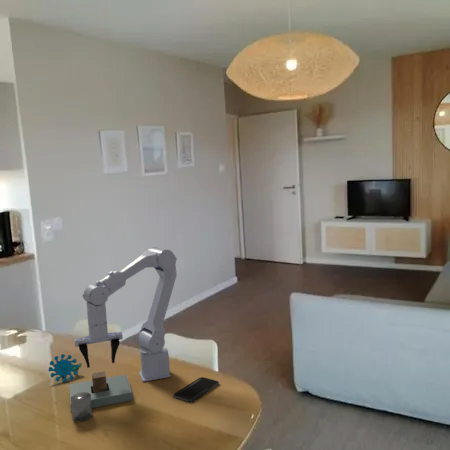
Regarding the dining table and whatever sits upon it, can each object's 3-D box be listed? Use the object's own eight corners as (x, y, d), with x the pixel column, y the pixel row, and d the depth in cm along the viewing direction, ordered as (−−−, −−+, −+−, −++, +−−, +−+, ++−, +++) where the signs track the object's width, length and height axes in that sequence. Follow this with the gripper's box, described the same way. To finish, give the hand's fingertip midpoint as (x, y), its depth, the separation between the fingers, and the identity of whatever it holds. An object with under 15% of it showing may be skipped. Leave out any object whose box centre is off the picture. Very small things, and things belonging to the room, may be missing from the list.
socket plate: (126, 381, 156) (125, 374, 156) (132, 400, 143) (132, 392, 143) (70, 391, 150) (69, 384, 150) (71, 412, 137) (70, 404, 137)
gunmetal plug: (91, 410, 138) (90, 390, 137) (92, 419, 133) (91, 399, 132) (72, 414, 136) (70, 394, 135) (72, 423, 131) (70, 403, 130)
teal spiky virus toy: (49, 382, 154) (48, 354, 160) (47, 389, 158) (45, 362, 164) (83, 378, 160) (81, 351, 165) (80, 385, 163) (78, 359, 169)
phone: (171, 395, 144) (201, 376, 156) (171, 398, 144) (201, 379, 156) (191, 401, 139) (220, 381, 151) (191, 404, 139) (220, 385, 151)
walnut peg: (106, 392, 149) (104, 371, 148) (107, 397, 145) (105, 376, 144) (93, 394, 148) (91, 373, 147) (94, 400, 144) (92, 378, 143)
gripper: (74, 330, 140) (77, 373, 142) (122, 322, 145) (125, 364, 147) (73, 323, 147) (76, 364, 148) (119, 316, 152) (122, 356, 153)
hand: (100, 364), depth 148 cm, fingers open, 7 cm apart
